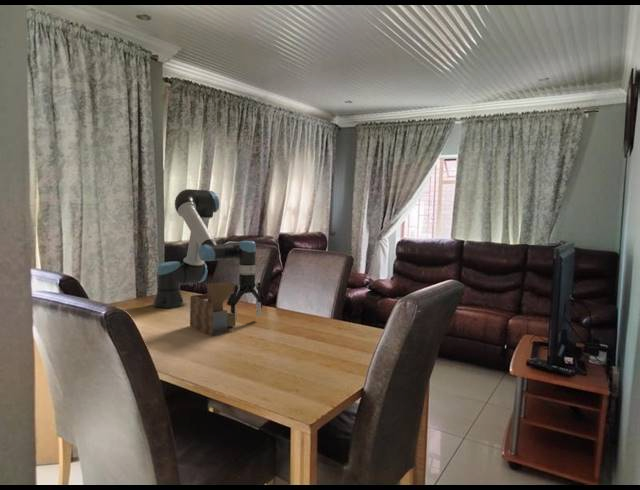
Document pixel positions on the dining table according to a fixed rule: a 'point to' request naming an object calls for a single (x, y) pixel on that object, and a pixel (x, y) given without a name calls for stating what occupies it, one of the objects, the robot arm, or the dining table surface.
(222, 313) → the bookend
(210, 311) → the wooden grain block
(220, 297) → the decorative block
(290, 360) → the dining table surface
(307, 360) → the dining table surface
